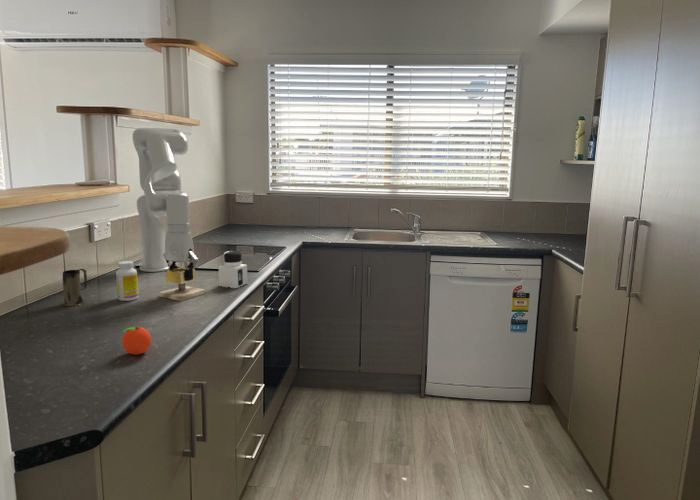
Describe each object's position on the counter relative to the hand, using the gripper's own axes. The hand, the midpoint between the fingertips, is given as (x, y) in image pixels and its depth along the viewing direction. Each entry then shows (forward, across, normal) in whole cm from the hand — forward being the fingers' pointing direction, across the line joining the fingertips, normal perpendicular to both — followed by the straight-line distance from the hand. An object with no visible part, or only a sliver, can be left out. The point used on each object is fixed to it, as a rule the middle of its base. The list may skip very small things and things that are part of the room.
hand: (181, 278), depth 188 cm
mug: (+6, -21, -26) cm, 34 cm away
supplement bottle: (+6, -12, -13) cm, 19 cm away
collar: (+1, 0, 0) cm, 1 cm away
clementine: (+7, +31, -44) cm, 54 cm away
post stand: (+6, 0, 0) cm, 6 cm away
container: (+6, +6, +20) cm, 21 cm away
